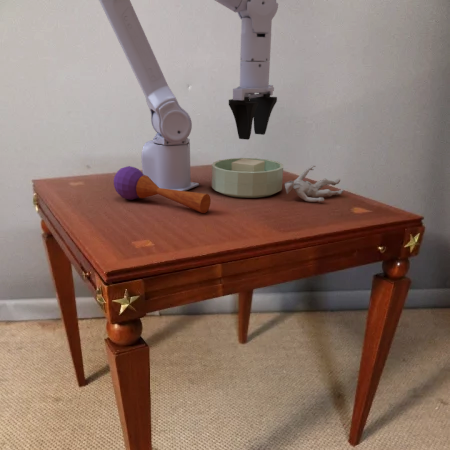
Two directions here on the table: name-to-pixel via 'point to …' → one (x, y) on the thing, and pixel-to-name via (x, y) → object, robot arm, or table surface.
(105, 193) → the table surface
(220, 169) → the bowl
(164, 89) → the robot arm
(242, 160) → the cube
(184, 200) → the purple wooden maraca
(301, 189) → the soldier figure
